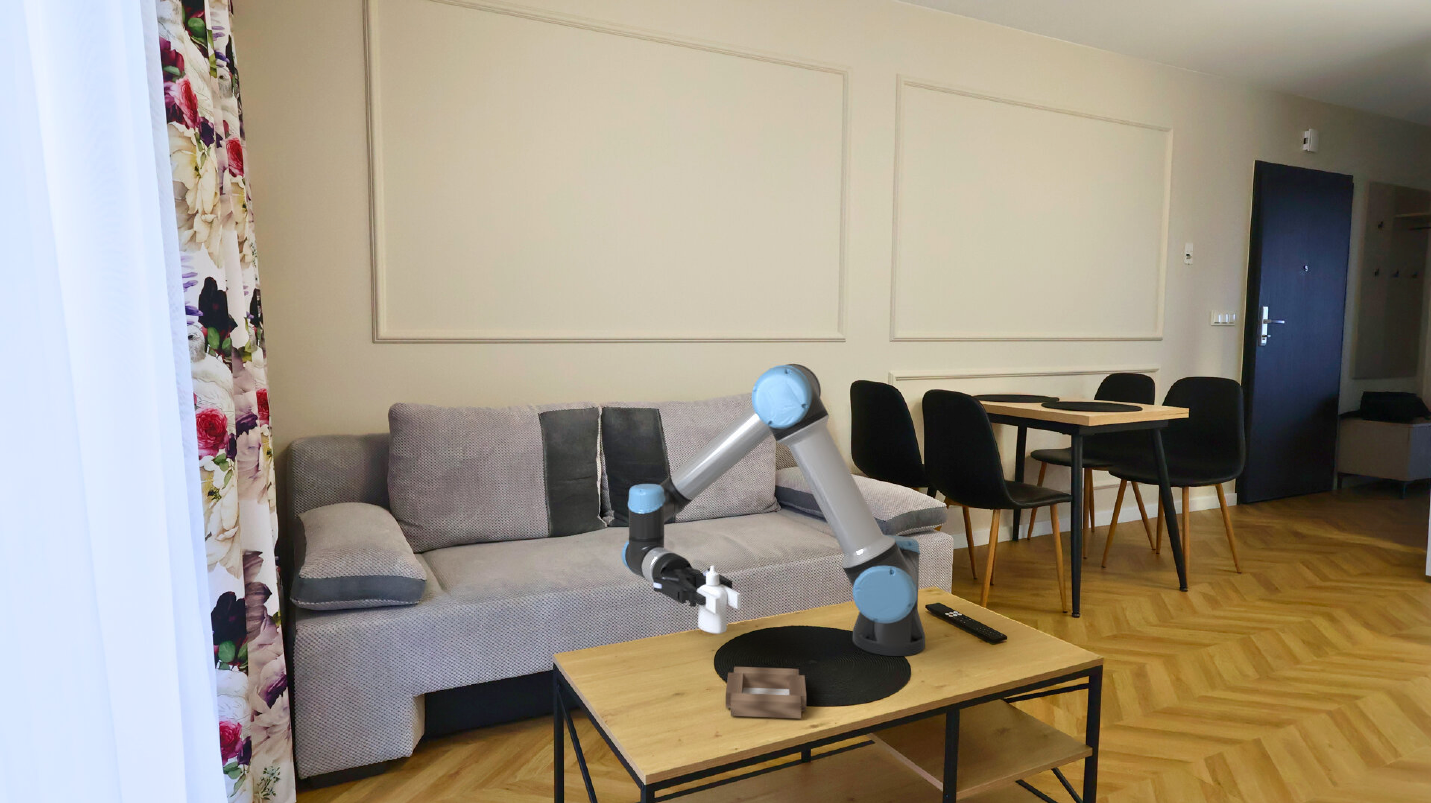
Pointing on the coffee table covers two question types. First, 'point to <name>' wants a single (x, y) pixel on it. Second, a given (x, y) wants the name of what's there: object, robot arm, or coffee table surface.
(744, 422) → the robot arm
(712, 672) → the coffee table surface
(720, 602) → the eye dropper bottle
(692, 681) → the coffee table surface
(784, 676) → the socket block
